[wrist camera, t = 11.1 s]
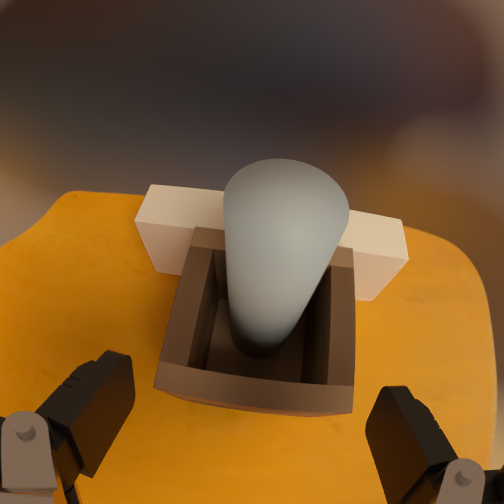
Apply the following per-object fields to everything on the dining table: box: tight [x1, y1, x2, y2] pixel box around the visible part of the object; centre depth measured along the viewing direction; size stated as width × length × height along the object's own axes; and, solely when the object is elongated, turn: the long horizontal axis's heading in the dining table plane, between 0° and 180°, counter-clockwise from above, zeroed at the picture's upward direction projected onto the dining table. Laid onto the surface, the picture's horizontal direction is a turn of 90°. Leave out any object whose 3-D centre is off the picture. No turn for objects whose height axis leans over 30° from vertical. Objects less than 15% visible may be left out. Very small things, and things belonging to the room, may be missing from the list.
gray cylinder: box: [223, 159, 349, 359], centre depth 13 cm, size 4×4×12 cm
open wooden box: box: [153, 226, 355, 417], centre depth 15 cm, size 8×8×7 cm
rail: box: [134, 184, 409, 302], centre depth 19 cm, size 16×3×6 cm, turn 82°
